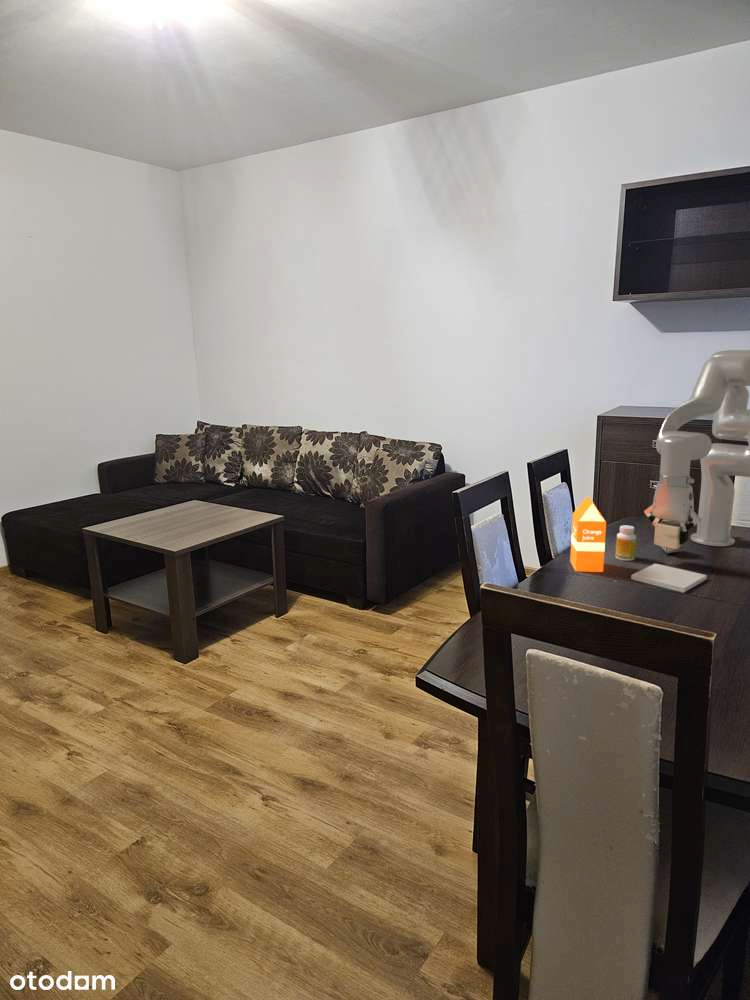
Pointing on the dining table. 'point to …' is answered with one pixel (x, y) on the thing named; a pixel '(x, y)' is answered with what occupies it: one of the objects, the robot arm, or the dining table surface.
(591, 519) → the orange juice
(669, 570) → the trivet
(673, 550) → the game die
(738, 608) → the dining table surface
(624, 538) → the supplement bottle
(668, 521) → the beech block
